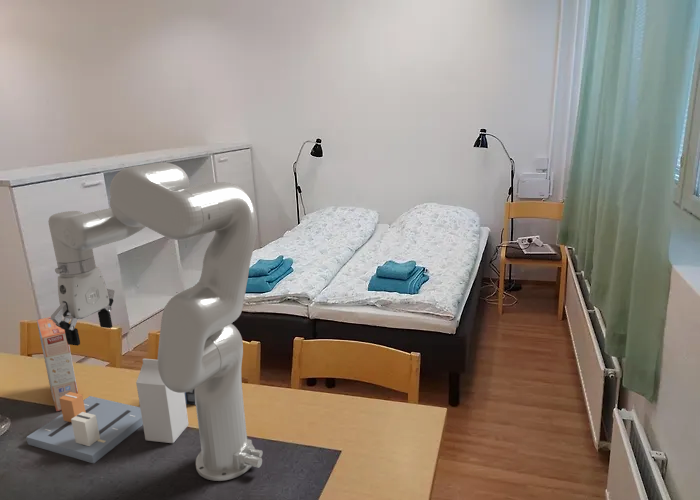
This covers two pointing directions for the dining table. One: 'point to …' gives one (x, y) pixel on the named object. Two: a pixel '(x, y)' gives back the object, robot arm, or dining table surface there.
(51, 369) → the cracker box
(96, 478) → the dining table surface
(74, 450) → the fader console
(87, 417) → the cream knob
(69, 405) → the orange fader knob
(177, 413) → the milk carton
